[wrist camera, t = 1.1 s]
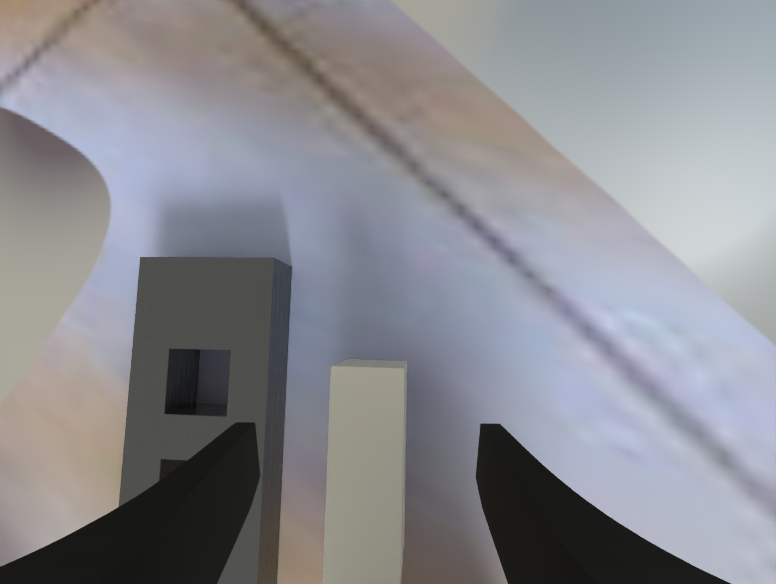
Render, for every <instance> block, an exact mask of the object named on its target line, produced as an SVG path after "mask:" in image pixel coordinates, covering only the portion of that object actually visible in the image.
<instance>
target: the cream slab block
mask: <svg viewBox="0 0 776 584" xmlns="http://www.w3.org/2000/svg"><path fill="white" fill-rule="evenodd" d="M406 408H407V361H396V360H362V359H347V360H345V361H342V362H340V363H337V364H335V365H332V366H331V371H330V398H329V426H328V453H327V481H326V509H325V536H324V564H323V584H401V576H402V563H403V550H404V525H405V467H406Z"/></svg>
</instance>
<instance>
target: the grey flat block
mask: <svg viewBox="0 0 776 584" xmlns="http://www.w3.org/2000/svg"><path fill="white" fill-rule="evenodd" d="M291 273H292V267H291V266H289V265H287V264H285V263H283V262H281V261H279V260H277V259H275V258H192V257H140V267H139V279H138V291H137V302H136V314H135V325H134V337H133V348H132V360H131V372H130V383H129V395H128V406H127V418H126V429H125V441H124V453H123V464H122V476H121V487H120V499H119V507H120V506H121V505H123V504H125V503H126V502H128V501H130V500H131V499H133V498H134V497H136V496H138V495H139V494H141V493H142V492H144V491H145V490H147V489H148V488H150V487H151V486H153V485H154V484H156V483H157V482H158V481H160V480H161V479H162V478H164V477H165V476H167V475H168V474H169V473H171V472H172V471H174V470H175V469H176V468H178V467H179V466H181V465H182V464H183V463H185V462H186V461H187V460H189V459H190V458H191V457H192V456H194V455H195V454H196V453H197V452H199V451H200V450H201V449H203V448H204V447H205V446H206V445H208V444H209V443H210V442H211V441H213V440H214V439H215V438H216V437H218V436H219V435H220V434H221V433H223V432H224V431H225V430H226V429H228V428H229V427H230V426H232V425H233V424H234V423H236V422H255V425H256V436H257V446H258V456H259V466H260V479H259V483H258V486H257V489H256V493H255V496H254V499H253V502H252V505H251V508H250V511H249V513H248V515H247V518H246V520H245V522H244V525H243V527H242V529H241V531H240V534H239V536H238V538H237V540H236V543H235V545H234V547H233V549H232V552H231V554H230V556H229V558H228V561H227V563H226V565H225V567H224V570H223V572H222V574H221V576H220V578H219V581H218V583H217V584H277V569H278V548H279V527H280V506H281V485H282V464H283V442H284V421H285V400H286V379H287V358H288V336H289V315H290V294H291ZM200 349H206V350H231V353H230V370H229V386H228V402H227V405H216V404H196V394H197V380H198V366H199V351H200Z"/></svg>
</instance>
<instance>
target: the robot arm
mask: <svg viewBox="0 0 776 584" xmlns="http://www.w3.org/2000/svg"><path fill="white" fill-rule="evenodd" d="M259 479H260V466H259V456H258V446H257V436H256V425H255V422H236V423H234V424H233V425H232V426H230V427H229V428H228V429H226V430H225V431H224V432H223V433H221V434H220V435H219V436H218V437H216V438H215V439H214V440H213V441H211V442H210V443H209V444H208V445H206V446H205V447H204V448H203V449H201V450H200V451H199V452H197V453H196V454H195V455H194V456H192V457H191V458H190V459H189V460H187V461H186V462H185V463H183V464H182V465H181V466H179V467H178V468H176V469H175V470H174V471H172V472H171V473H169V474H168V475H167V476H165V477H164V478H162V479H161V480H160V481H158V482H157V483H156V484H154V485H153V486H151V487H150V488H148V489H147V490H145V491H144V492H142V493H141V494H139V495H138V496H136V497H134V498H133V499H131V500H130V501H128V502H126V503H125V504H123V505H121V506H120V507H118V508H117V509H115V510H113V511H111V512H110V513H108V514H106V515H104V516H103V517H101V518H99V519H97V520H95V521H93V522H91V523H90V524H88V525H86V526H84V527H82V528H80V529H79V530H77V531H75V532H73V533H71V534H69V535H67V536H65V537H64V538H62V539H59V540H57V541H55V542H53V543H51V544H49V545H47V546H45V547H43V548H41V549H39V550H37V551H35V552H32V553H30V554H28V555H26V556H24V557H22V558H19V559H17V560H15V561H13V562H10V563H8V564H6V565H4V566H1V567H0V584H217V583H218V581H219V578H220V576H221V574H222V572H223V570H224V567H225V565H226V563H227V561H228V558H229V556H230V554H231V552H232V549H233V547H234V545H235V543H236V540H237V538H238V536H239V534H240V531H241V529H242V527H243V525H244V522H245V520H246V518H247V515H248V513H249V511H250V508H251V505H252V502H253V499H254V496H255V493H256V489H257V486H258V483H259ZM476 480H477V485H478V490H479V495H480V499H481V503H482V508H483V511H484V514H485V517H486V520H487V523H488V526H489V529H490V532H491V535H492V538H493V541H494V544H495V547H496V550H497V553H498V556H499V558H500V561H501V564H502V567H503V570H504V573H505V576H506V579H507V582H508V584H731V583H728V582H726V581H724V580H722V579H720V578H718V577H716V576H713V575H711V574H709V573H707V572H705V571H703V570H701V569H699V568H697V567H695V566H693V565H691V564H689V563H687V562H685V561H683V560H681V559H680V558H678V557H676V556H674V555H672V554H670V553H668V552H666V551H665V550H663V549H661V548H659V547H658V546H656V545H654V544H652V543H651V542H649V541H647V540H645V539H644V538H642V537H640V536H639V535H637V534H636V533H634V532H632V531H631V530H629V529H628V528H626V527H624V526H623V525H621V524H619V523H618V522H616V521H615V520H613V519H612V518H610V517H609V516H607V515H606V514H604V513H603V512H602V511H600V510H599V509H597V508H596V507H595V506H593V505H592V504H590V503H589V502H588V501H586V500H585V499H583V498H582V497H581V496H580V495H578V494H577V493H576V492H574V491H573V490H572V489H571V488H569V487H568V486H567V485H566V484H565V483H563V482H562V481H561V480H560V479H558V478H557V477H556V476H555V475H554V474H553V473H551V472H550V471H549V470H548V469H547V468H546V467H545V466H543V465H542V464H541V463H540V462H539V461H538V460H537V459H536V458H535V457H534V456H533V455H531V454H530V453H529V452H528V451H527V450H526V449H525V448H524V447H523V446H522V445H521V444H520V443H519V442H518V441H517V440H516V439H515V438H514V437H513V436H512V435H511V434H510V433H509V432H508V431H507V430H506V429H505V428H504V427H503V426H501V425H500V424H481V425H480V436H479V447H478V459H477V470H476Z"/></svg>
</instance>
